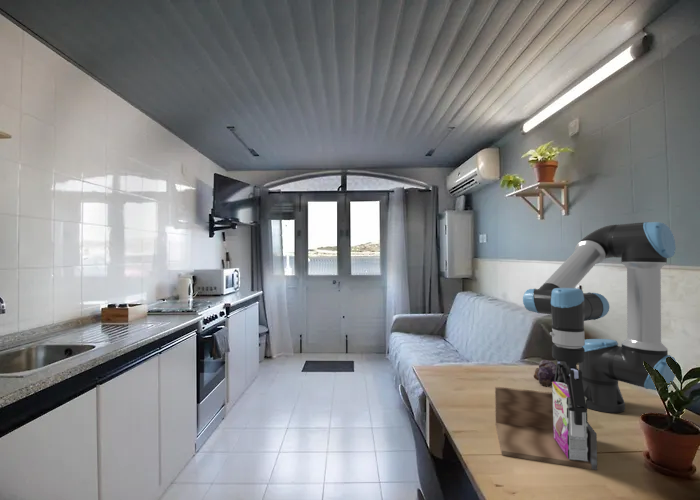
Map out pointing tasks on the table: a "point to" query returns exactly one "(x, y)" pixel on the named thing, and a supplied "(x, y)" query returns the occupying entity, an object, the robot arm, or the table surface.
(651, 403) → the table surface
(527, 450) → the shelf
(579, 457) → the candy bar box
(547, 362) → the rock
